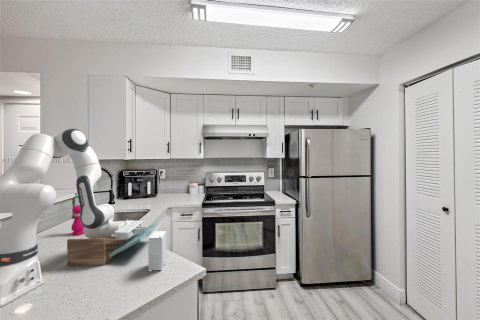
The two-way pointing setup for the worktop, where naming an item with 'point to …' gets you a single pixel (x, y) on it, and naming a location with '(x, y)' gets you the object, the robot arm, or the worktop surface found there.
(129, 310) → the worktop surface
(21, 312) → the worktop surface
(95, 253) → the box
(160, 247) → the skincare box
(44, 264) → the worktop surface
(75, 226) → the pepper mill
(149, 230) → the tailgate
